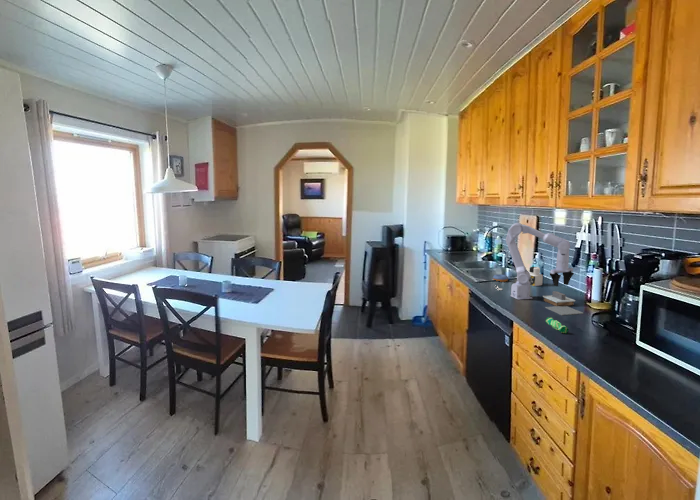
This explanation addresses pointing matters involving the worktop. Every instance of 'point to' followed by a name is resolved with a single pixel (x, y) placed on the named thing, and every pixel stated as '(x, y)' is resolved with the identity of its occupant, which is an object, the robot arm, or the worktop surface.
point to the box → (559, 303)
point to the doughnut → (500, 278)
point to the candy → (556, 325)
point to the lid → (558, 297)
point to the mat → (564, 310)
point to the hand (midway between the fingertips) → (560, 285)
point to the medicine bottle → (535, 276)
